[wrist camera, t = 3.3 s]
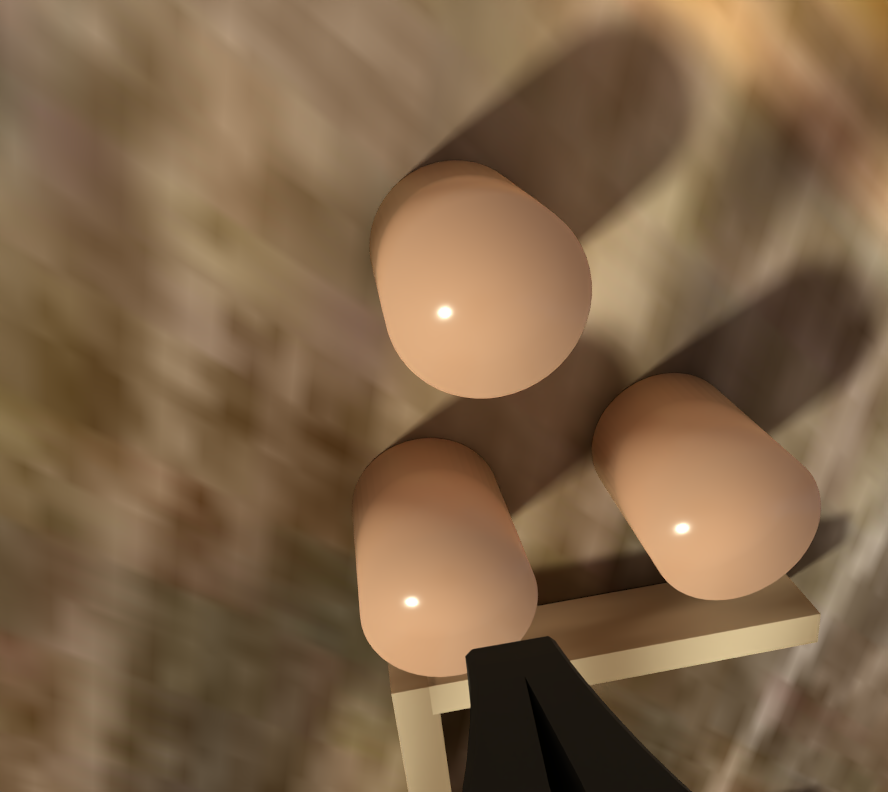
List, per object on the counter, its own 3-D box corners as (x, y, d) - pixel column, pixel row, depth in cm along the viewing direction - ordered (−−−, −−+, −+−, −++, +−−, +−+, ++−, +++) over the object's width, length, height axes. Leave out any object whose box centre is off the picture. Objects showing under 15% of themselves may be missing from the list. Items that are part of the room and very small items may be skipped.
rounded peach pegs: (812, 243, 21) (931, 293, 17) (665, 596, 25) (733, 703, 21) (389, 142, 18) (410, 172, 14) (302, 551, 22) (299, 664, 18)
